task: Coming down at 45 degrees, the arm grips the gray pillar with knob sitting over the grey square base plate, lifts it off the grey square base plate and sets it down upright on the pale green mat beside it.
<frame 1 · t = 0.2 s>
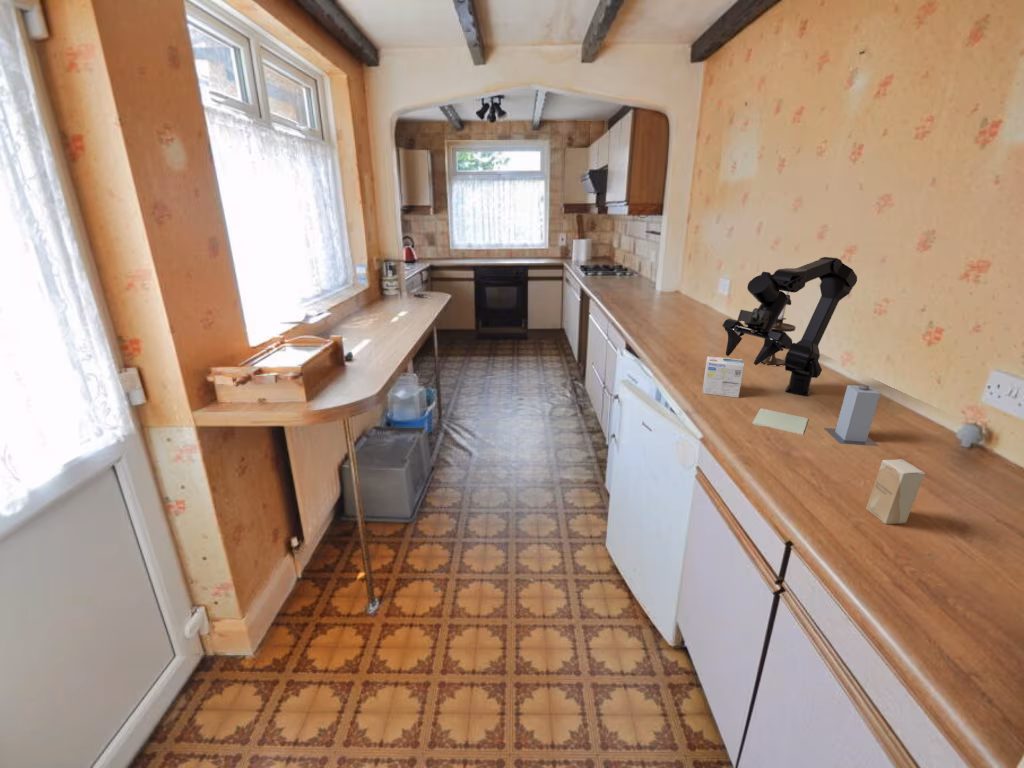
hand: (740, 359, 136), 15 cm above the countertop, tool tilted 35°, fingers open, 9 cm apart
mat: (780, 422, 133), on the countertop
candlestick: (771, 363, 184), on the countertop
light bulb box: (719, 393, 154), on the countertop
box: (885, 517, 93), on the countertop
grey square base plate: (849, 438, 124), on the countertop
gray pillar with knob: (850, 436, 124), resting on grey square base plate
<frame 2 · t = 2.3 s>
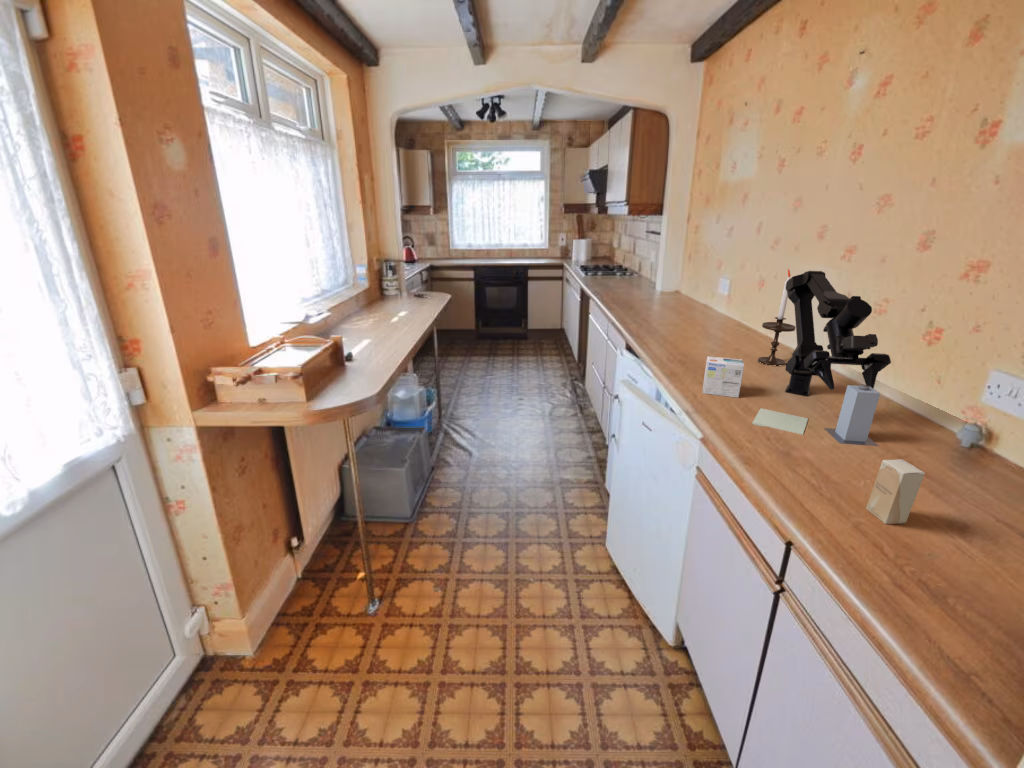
hand: (851, 390, 124), 11 cm above the countertop, tool tilted 45°, fingers open, 9 cm apart
nothing on the countertop moved.
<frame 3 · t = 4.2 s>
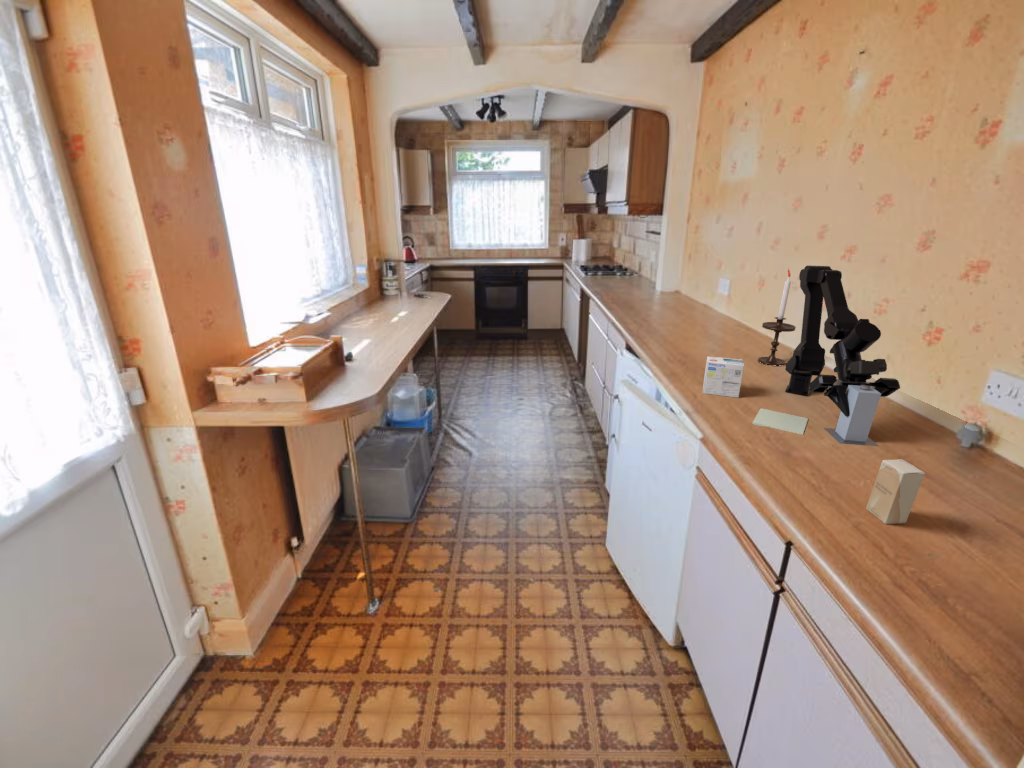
hand: (859, 416, 120), 7 cm above the countertop, tool tilted 45°, fingers closed on gray pillar with knob, 5 cm apart
gray pillar with knob: (850, 436, 124), resting on grey square base plate, touching gripper
everything else where it was.
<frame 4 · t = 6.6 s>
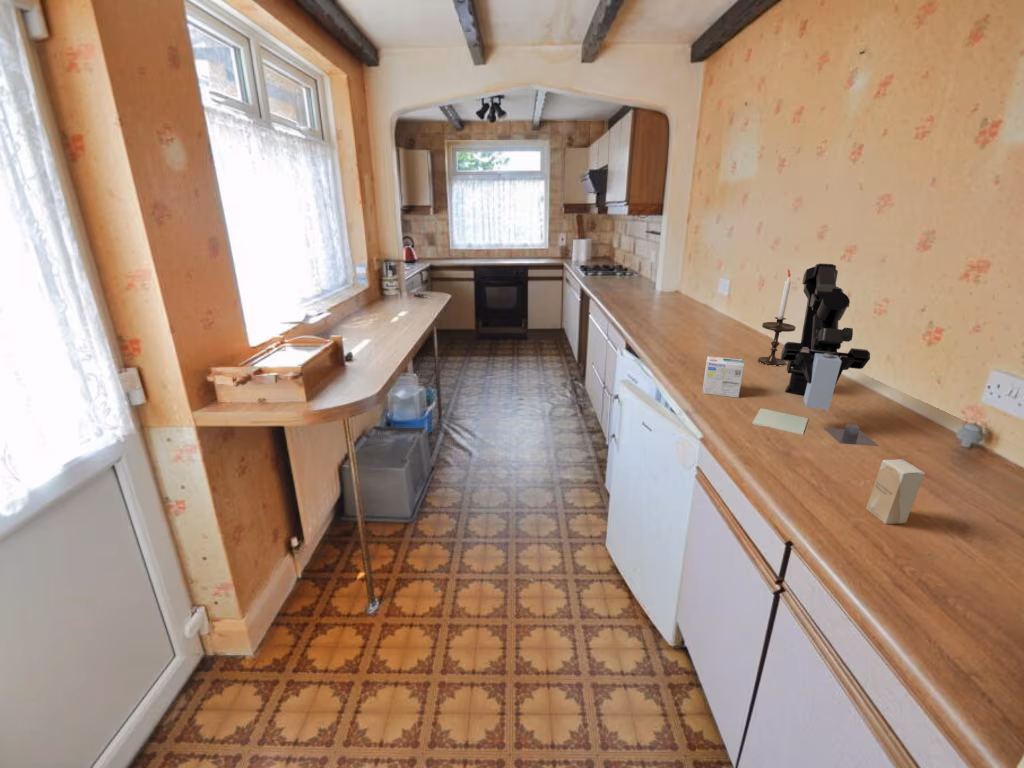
hand: (821, 384, 122), 13 cm above the countertop, tool tilted 45°, fingers closed on gray pillar with knob, 5 cm apart
gray pillar with knob: (815, 404, 126), point 7 cm above the countertop, touching gripper
everything else where it was.
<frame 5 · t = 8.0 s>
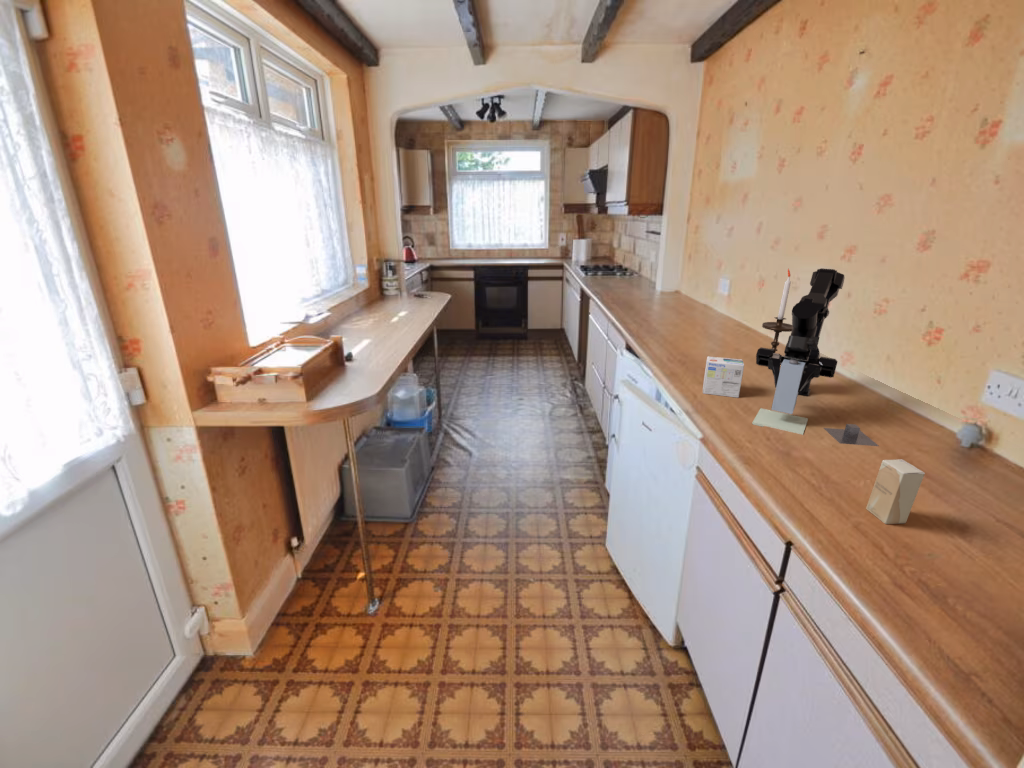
hand: (787, 389, 128), 10 cm above the countertop, tool tilted 45°, fingers closed on gray pillar with knob, 5 cm apart
gray pillar with knob: (783, 408, 131), point 4 cm above the countertop, touching gripper
everything else where it was.
when the fingers open (8 cm above the countertop, at t = 8.9 s): gray pillar with knob stays where it is, resting on mat.
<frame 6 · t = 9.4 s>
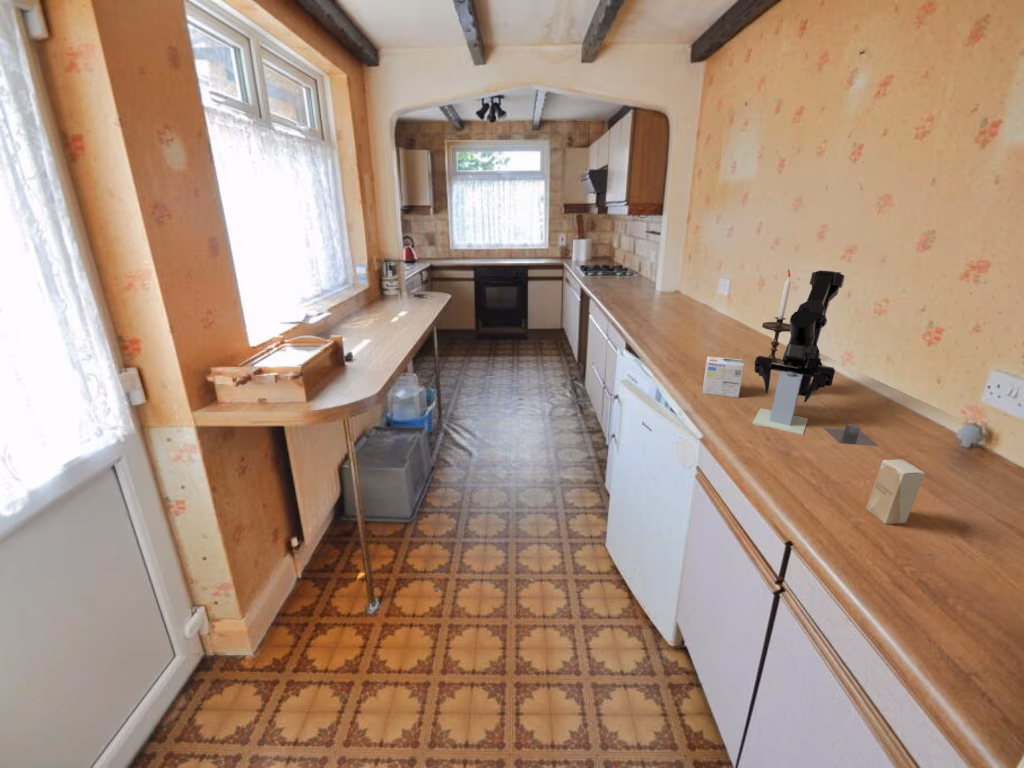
hand: (785, 397, 129), 8 cm above the countertop, tool tilted 45°, fingers open, 9 cm apart
gray pillar with knob: (781, 420, 132), point 1 cm above the countertop, touching mat
everything else where it was.
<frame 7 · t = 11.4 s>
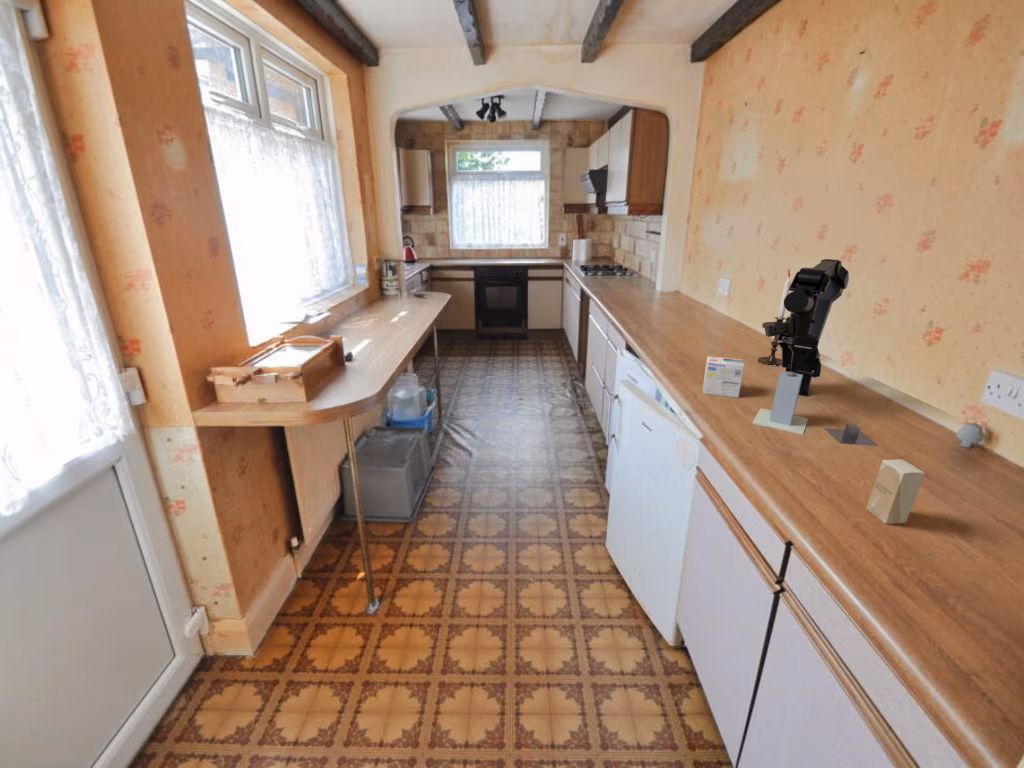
hand: (788, 369, 138), 12 cm above the countertop, tool pointing down, fingers open, 9 cm apart
nothing on the countertop moved.
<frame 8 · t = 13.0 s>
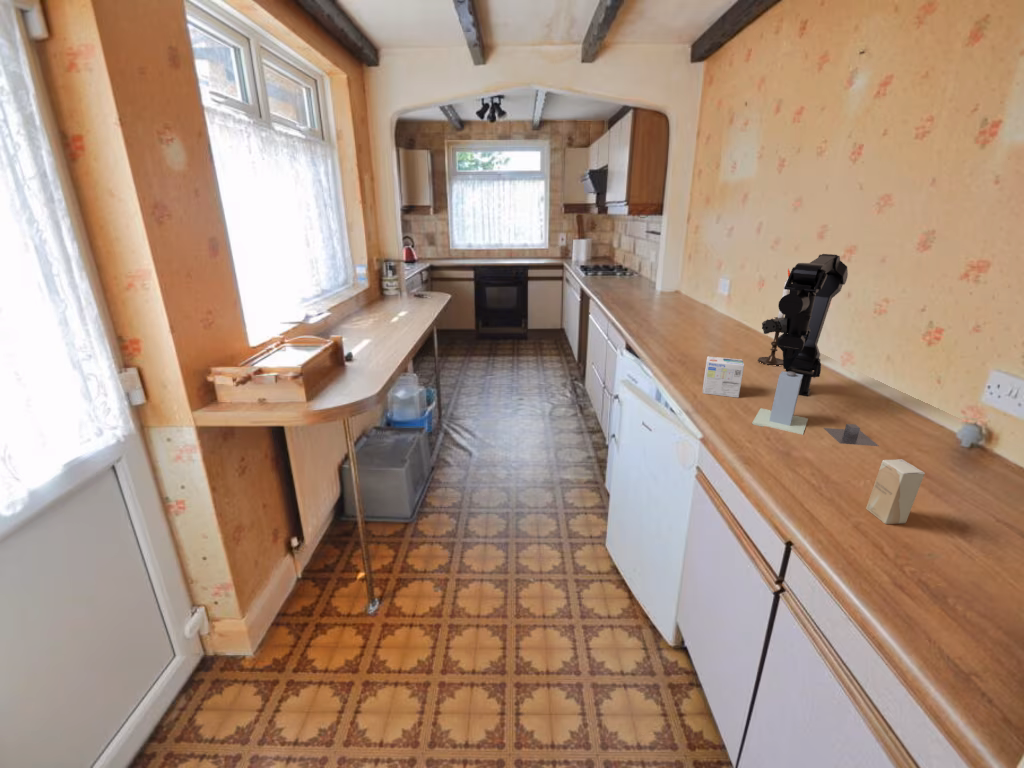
hand: (788, 364, 138), 13 cm above the countertop, tool pointing down, fingers open, 9 cm apart
nothing on the countertop moved.
at the end: gray pillar with knob inside the target area on the mat (0.1 cm from its centre), point 0.6 cm above the mat's base; gray pillar with knob tilted 0°; the gripper is holding nothing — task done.
